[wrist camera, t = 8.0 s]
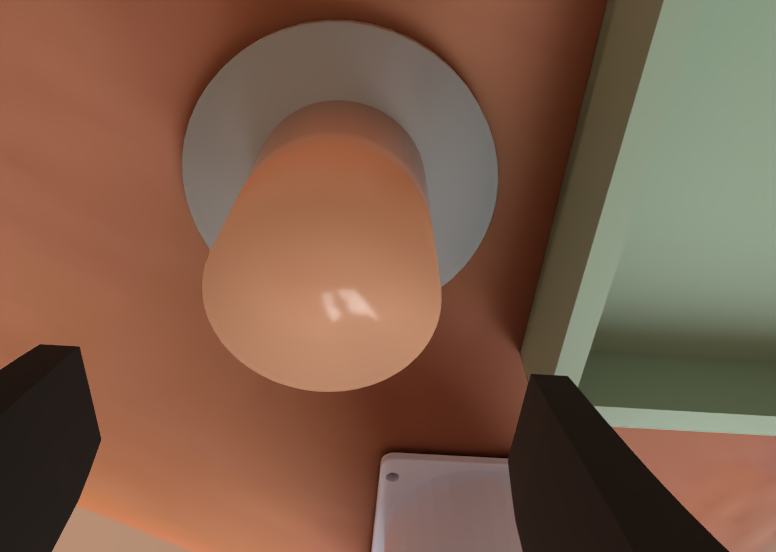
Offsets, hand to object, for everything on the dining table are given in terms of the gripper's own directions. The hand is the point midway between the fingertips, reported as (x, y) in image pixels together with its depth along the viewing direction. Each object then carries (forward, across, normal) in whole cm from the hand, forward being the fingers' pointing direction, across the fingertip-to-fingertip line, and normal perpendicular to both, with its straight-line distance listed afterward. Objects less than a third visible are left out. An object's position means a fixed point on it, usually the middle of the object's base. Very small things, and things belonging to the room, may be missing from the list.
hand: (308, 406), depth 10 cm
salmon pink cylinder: (+9, 0, 0) cm, 9 cm away
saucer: (+9, 0, 0) cm, 9 cm away
